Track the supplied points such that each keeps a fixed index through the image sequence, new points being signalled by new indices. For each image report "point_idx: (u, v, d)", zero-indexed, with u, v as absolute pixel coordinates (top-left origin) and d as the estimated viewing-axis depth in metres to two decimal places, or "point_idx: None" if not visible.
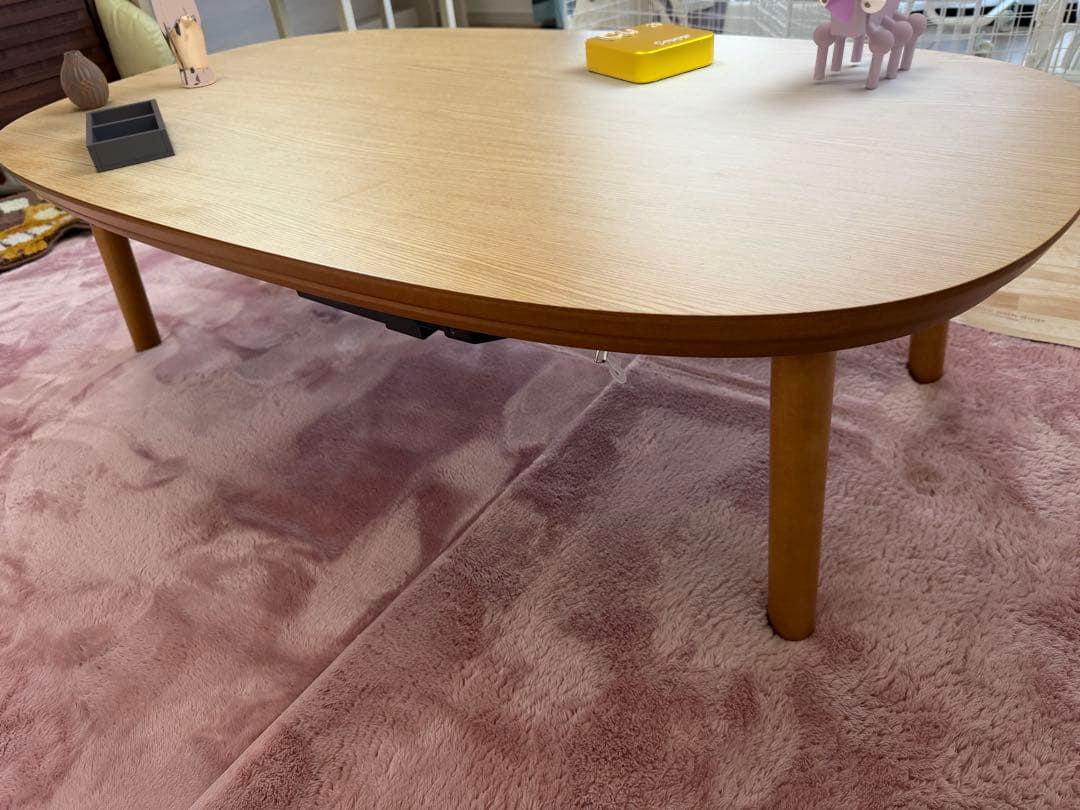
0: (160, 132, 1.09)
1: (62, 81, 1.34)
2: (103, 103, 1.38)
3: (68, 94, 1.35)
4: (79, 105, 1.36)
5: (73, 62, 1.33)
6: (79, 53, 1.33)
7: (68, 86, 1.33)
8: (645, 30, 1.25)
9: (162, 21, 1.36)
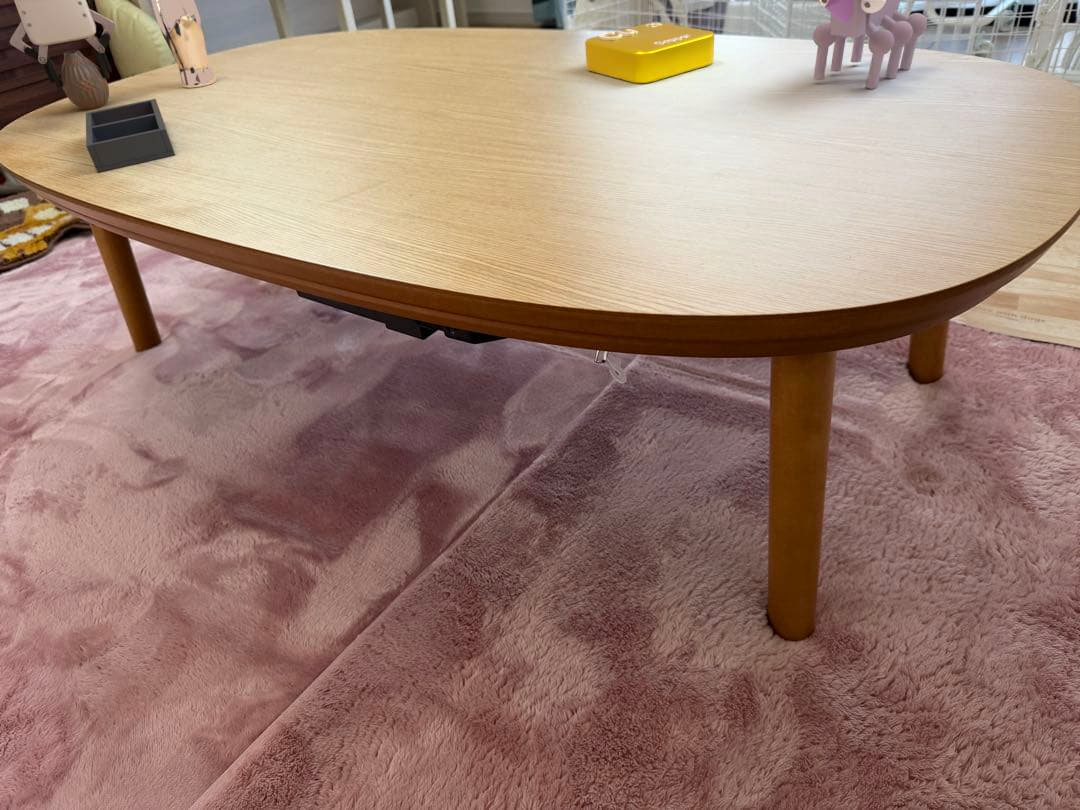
0: (160, 132, 1.09)
1: (62, 81, 1.34)
2: (103, 103, 1.38)
3: (68, 94, 1.35)
4: (79, 105, 1.36)
5: (73, 62, 1.33)
6: (79, 53, 1.33)
7: (68, 86, 1.33)
8: (645, 30, 1.25)
9: (162, 21, 1.36)
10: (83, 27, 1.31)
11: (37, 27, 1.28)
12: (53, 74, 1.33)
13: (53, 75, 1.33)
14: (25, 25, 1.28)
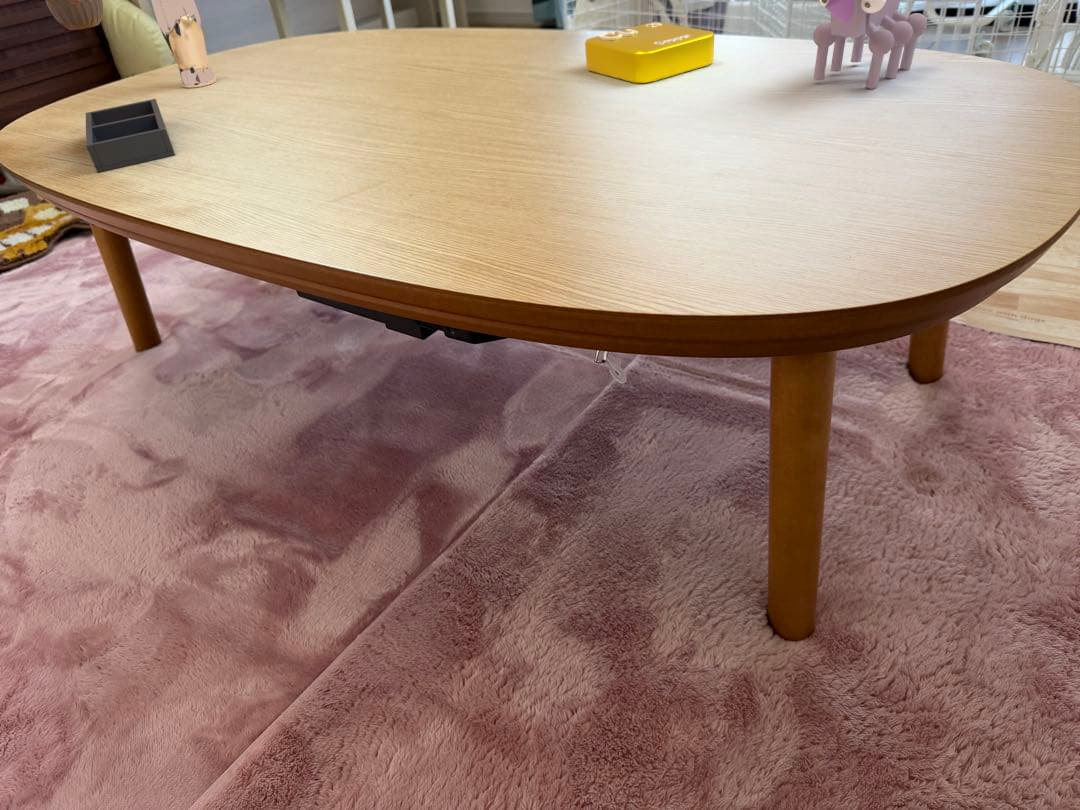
0: (160, 132, 1.09)
1: None
2: (96, 22, 1.12)
3: (52, 9, 1.09)
4: (66, 23, 1.10)
5: None
6: None
7: None
8: (645, 30, 1.25)
9: (162, 21, 1.36)
10: None
11: None
12: None
13: None
14: None
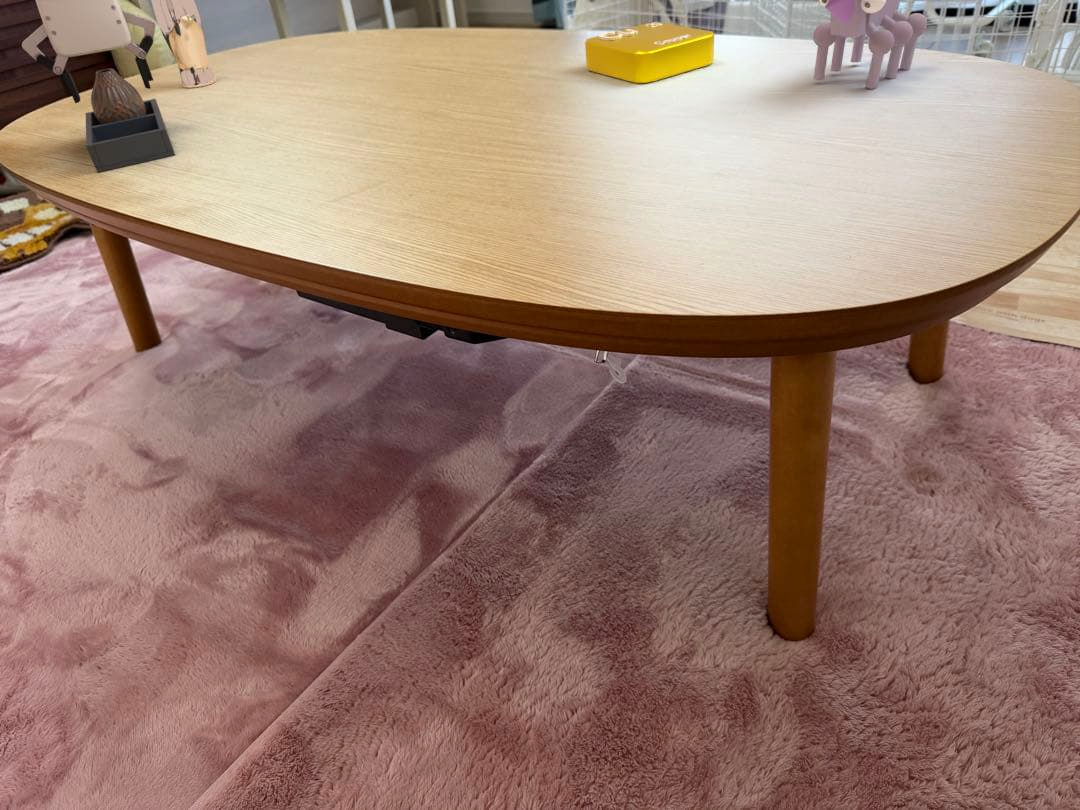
0: (160, 132, 1.09)
1: (93, 104, 1.15)
2: None
3: (100, 119, 1.16)
4: None
5: (107, 82, 1.14)
6: (113, 72, 1.15)
7: (100, 110, 1.15)
8: (645, 30, 1.25)
9: (162, 21, 1.36)
10: (116, 35, 1.11)
11: (64, 35, 1.09)
12: (70, 86, 1.12)
13: (70, 88, 1.13)
14: (49, 33, 1.08)
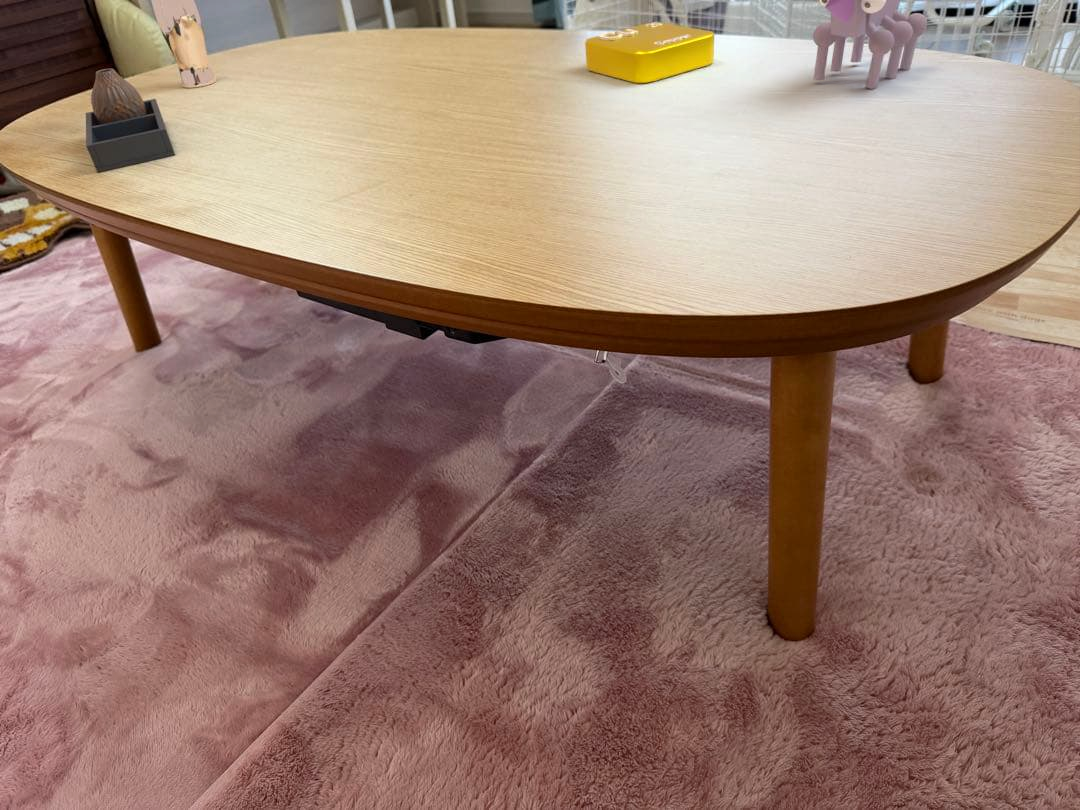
0: (160, 132, 1.09)
1: (93, 104, 1.15)
2: None
3: (100, 119, 1.16)
4: None
5: (107, 82, 1.14)
6: (113, 72, 1.15)
7: (100, 110, 1.15)
8: (645, 30, 1.25)
9: (162, 21, 1.36)
10: None
11: None
12: None
13: None
14: None
